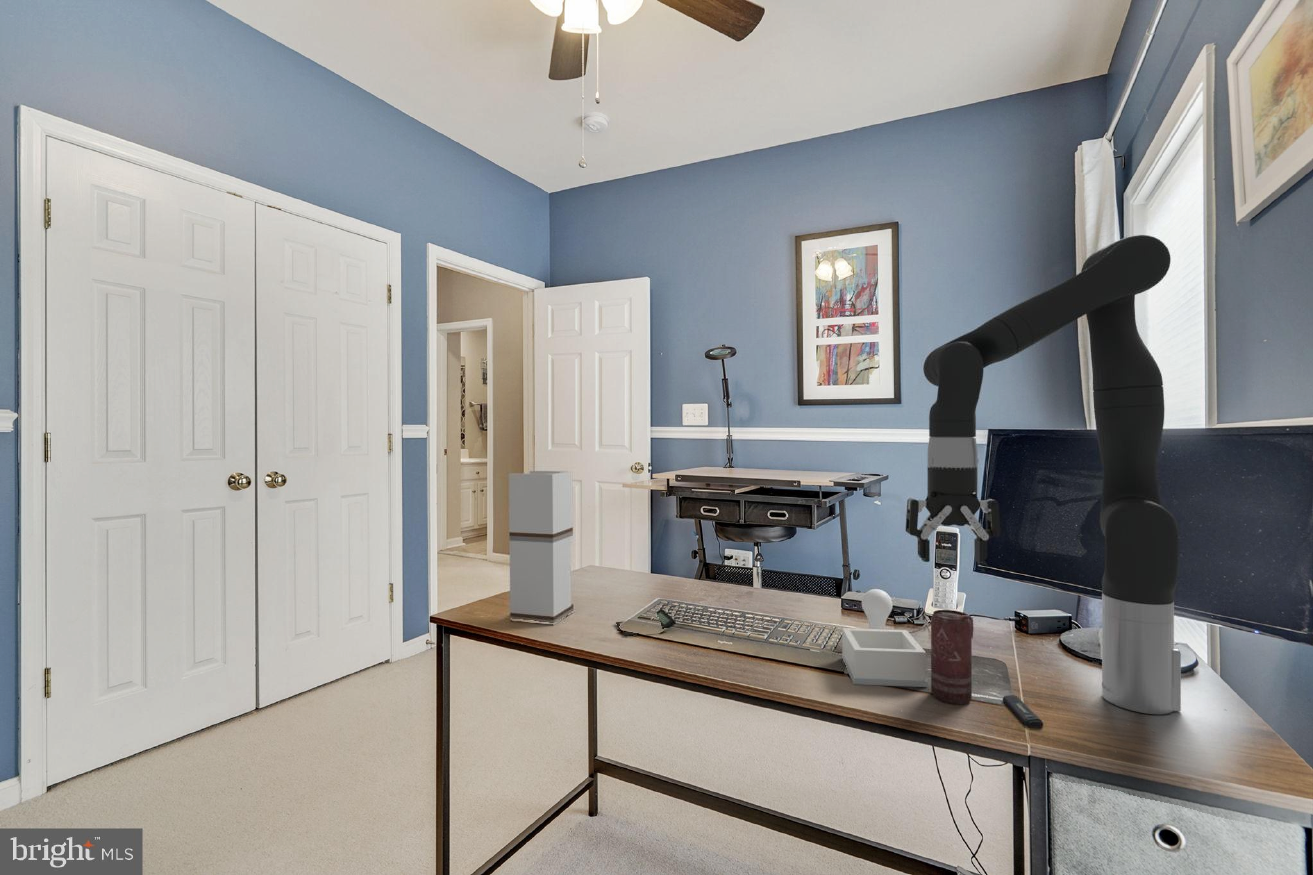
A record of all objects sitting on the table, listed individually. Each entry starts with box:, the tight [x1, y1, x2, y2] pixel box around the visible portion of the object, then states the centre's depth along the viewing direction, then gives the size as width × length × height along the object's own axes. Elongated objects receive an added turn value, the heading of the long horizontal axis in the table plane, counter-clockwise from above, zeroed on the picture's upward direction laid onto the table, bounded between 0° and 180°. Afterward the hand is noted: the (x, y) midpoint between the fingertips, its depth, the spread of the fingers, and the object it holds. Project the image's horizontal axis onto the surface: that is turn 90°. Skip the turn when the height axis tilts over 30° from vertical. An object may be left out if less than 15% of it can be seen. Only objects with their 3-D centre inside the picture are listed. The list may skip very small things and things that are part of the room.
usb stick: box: [1002, 694, 1044, 729], centre depth 97 cm, size 10×3×2 cm, turn 171°
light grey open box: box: [841, 627, 928, 688], centre depth 114 cm, size 12×12×6 cm
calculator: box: [615, 608, 677, 637], centre depth 141 cm, size 9×12×3 cm
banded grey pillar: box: [508, 470, 574, 623], centre depth 150 cm, size 11×11×35 cm
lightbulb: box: [861, 588, 893, 630], centre depth 131 cm, size 6×6×11 cm
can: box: [930, 609, 975, 705], centre depth 103 cm, size 6×6×14 cm
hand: (951, 561), depth 103 cm, fingers open, 8 cm apart
